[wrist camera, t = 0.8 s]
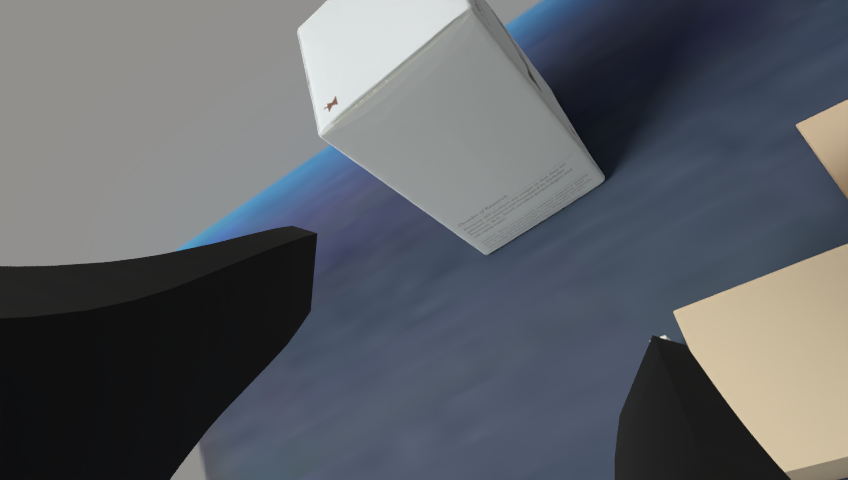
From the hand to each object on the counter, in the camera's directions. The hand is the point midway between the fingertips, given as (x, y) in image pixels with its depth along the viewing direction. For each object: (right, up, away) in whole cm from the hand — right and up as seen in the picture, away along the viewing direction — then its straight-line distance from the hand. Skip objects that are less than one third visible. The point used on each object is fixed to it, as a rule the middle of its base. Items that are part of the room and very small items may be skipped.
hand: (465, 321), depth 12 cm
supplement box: (+5, +5, +19) cm, 20 cm away
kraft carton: (+13, -4, +8) cm, 15 cm away
